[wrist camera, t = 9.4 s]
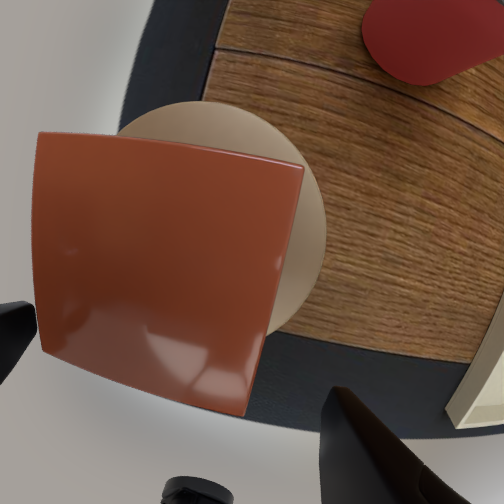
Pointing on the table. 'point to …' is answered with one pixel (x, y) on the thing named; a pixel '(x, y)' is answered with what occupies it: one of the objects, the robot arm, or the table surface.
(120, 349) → the clay block
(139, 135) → the pedestal
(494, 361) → the beige tray
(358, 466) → the robot arm
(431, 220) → the table surface
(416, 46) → the beer can
